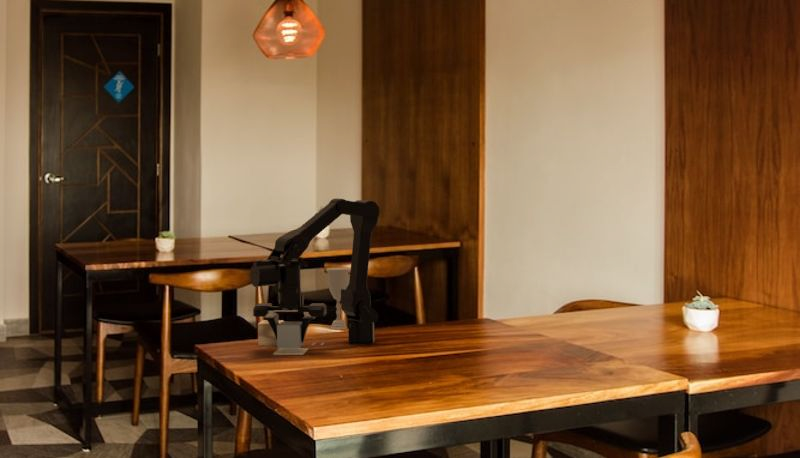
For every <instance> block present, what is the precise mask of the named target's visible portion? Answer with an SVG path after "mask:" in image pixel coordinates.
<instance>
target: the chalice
mask: <svg viewBox="0 0 800 458" xmlns="http://www.w3.org/2000/svg"><path fill="white" fill-rule="evenodd" d="M350 270H351V267H350V268H349V267H327V268H326V269H325V271H326V272H327V287H328V289H329V291H330V294H331V296H332V297H333V299H334V300H336V305H335V308H336V311H335V313H336V318H335V319H334V320H333V321H332V324H331V326H330V330H346V329H347V330H348V327H347V325H346V323H345V322H346V321H345V320H343V319H342V318H341V314H342V310H341V304H340V303H339V302H340V299H341V289H345V290H346V288H347V286H348V285H349V273H350V272H349V271H350Z"/></svg>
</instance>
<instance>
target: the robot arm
mask: <svg viewBox="0 0 800 458" xmlns="http://www.w3.org/2000/svg"><path fill="white" fill-rule="evenodd" d="M380 211H381V210H380V206H379V204H378V203H376V202H375V201H373V200H363V199H359V200H355V201H352V200H346V199H344V198H332V199H331V200H330V201H329V202H328V203H327V204H326V205H325V206H324V207H322V208H321V209H320V210H319V211H318V212H317V213H315V214H314V215H313V216H312V217H311V218H309V219H308V220H306V222H304V223H303V224H302V225H301V226H299V227H297V228H296V229H293V230H291V231H288V232H286V233H284V234H282V235H281V236H279V237H278V238H277V239H276V240H275V242H274V248H273V249H272V251H271V252H270V255H268V257H267V258H266V260H257V259H255V260H253V265H252V266H251V268H250V272H249V280H250V283H251V285H252V287H254V288H259V287H269V286H276V285H277V283H278V292H277V301H278V306H274V305H273V304H272V303H270V302H269V303H267V302H266V303H261V302H260V303H257V304H255V306H254V307H253V310H252V311H253V314H252V315H253V317H262V318H263V320H267V321H268V322H269V324H270V326H271V327H272V329H273V332H274V334H275V336H276V339H277V325H278V324H279V320H280V319H279V318H280V315H279V314H303V315H304V316H303V317H301V322H302V330H301V341H302V343H303V342H304V343H305V339H306V336H307V335H306V334H307V333H308V332H307V331H308V328H309V325H310V324H311V321H313V320H315V318H319V317H320V318H322V317H325V316H326V315H327V313H328V311H327V305H326V304H325V303H323V302H322V303H321V302H319V303H317V302H315V303H314V302H312V303H311V304H309V305H307V306H305V305H304V301H305V295H304V294H303V292H302V286H301V267H307V266H308V265H309V263H308V262H306V261H305V260H304V258H303V257H302V255H303V253H305V251H307V249H308V248H309V246H310V243H311V241H312V240H313V239H314V238H315V237H317V236H318V235H319V234H320V233H321V232H322V231H324V230H325V229H326V228H327V227H328V226H330V225H331V224H332V223H333V222H335V221H336V220H337V219H338V218H339V217H341V215H346V216H349V221H350V224H351V227H352V231H353V238H352V239H353V240H352V248H351V249H352V250H351V261H350V270H349V271H350V272H349V280H348V286H347V288H346V290H345V289H341V299H340V302H339V303H340V305H341V307H340V310H341V311H342V312H343V313H344V314H345V316H346V319H347V320H348V321H349V322H350V323H349V326H348V327H347V333H348V342H349V345H374V343H375V342H376V338H375V323H378V321H379V317H380V315H379V313H378V312H377V311H376V310H375V309H374V308H373V307H372V304H371V303H372V301H371V294H370V291H369V288H368V283H367V282H368V273H369V263H370V253H371V244H372V243H371V241H372V234H373V231H374V230H375V228H376V227H377V225H378V222H379V218H380V214H381V213H380Z"/></svg>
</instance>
